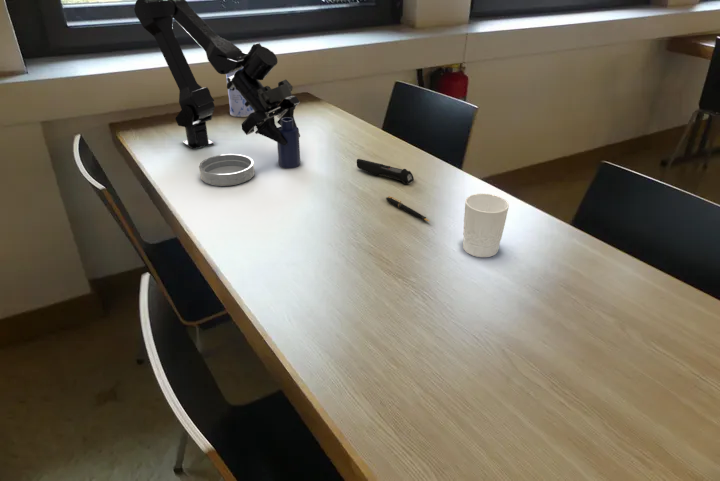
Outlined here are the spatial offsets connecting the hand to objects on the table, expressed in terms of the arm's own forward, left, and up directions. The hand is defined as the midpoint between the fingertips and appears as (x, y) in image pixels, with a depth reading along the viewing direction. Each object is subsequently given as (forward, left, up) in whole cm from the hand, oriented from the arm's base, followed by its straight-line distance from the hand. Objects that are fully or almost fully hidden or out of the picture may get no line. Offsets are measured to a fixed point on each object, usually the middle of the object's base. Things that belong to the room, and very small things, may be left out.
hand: (292, 141), depth 135 cm
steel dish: (-5, -17, -7) cm, 18 cm away
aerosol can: (-47, +12, -7) cm, 49 cm away
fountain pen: (+37, +4, -7) cm, 38 cm away
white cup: (+57, +4, -7) cm, 58 cm away
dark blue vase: (-1, -1, -7) cm, 7 cm away
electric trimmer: (+20, +13, -7) cm, 25 cm away
